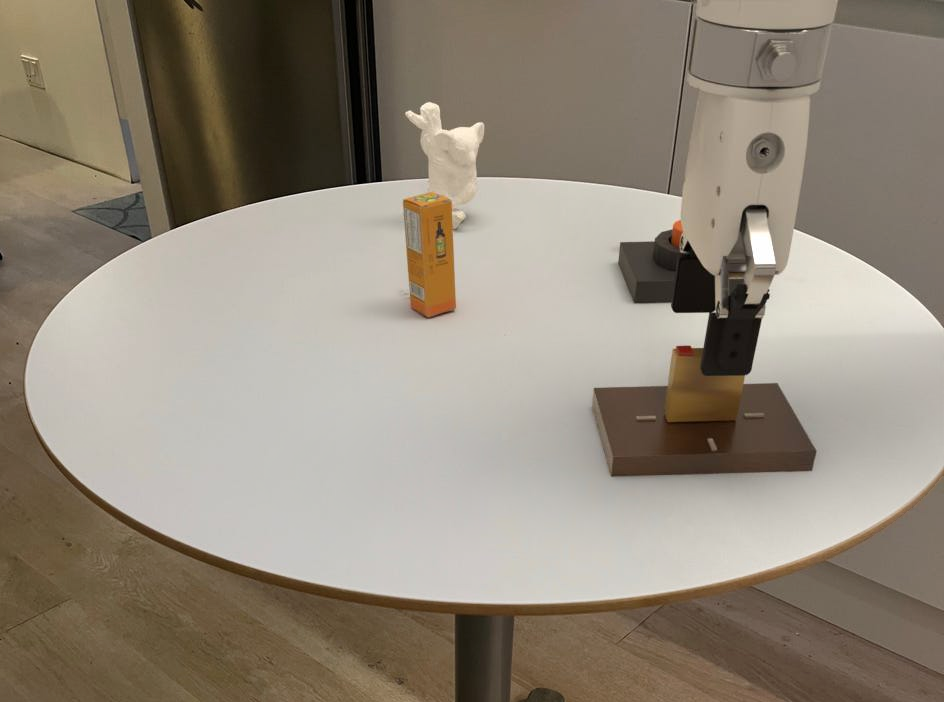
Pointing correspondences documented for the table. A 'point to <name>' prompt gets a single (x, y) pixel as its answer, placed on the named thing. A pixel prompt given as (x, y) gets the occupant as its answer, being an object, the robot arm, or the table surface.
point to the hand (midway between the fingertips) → (708, 340)
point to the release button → (676, 233)
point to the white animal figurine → (449, 157)
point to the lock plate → (700, 435)
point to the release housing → (655, 269)
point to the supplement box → (430, 253)
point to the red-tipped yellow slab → (699, 390)
